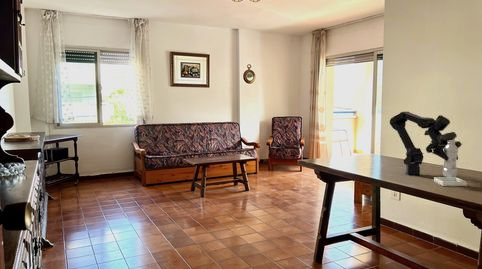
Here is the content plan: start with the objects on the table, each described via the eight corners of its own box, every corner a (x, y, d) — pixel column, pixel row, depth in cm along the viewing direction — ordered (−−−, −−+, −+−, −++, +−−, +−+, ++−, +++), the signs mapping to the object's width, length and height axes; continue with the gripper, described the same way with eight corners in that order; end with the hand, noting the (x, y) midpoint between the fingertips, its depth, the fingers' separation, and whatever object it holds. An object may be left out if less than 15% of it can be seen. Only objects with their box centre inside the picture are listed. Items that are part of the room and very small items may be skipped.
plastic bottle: (447, 175, 187) (449, 138, 185) (459, 177, 181) (461, 139, 179) (439, 176, 185) (440, 139, 183) (451, 179, 178) (452, 140, 176)
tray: (442, 186, 179) (442, 181, 178) (433, 181, 189) (434, 177, 189) (466, 186, 177) (467, 181, 177) (456, 181, 188) (456, 177, 187)
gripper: (430, 127, 182) (447, 151, 172) (459, 126, 186) (477, 149, 177) (419, 140, 190) (434, 164, 181) (447, 139, 195) (463, 162, 185)
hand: (452, 159), depth 180 cm, fingers closed on plastic bottle, 6 cm apart
